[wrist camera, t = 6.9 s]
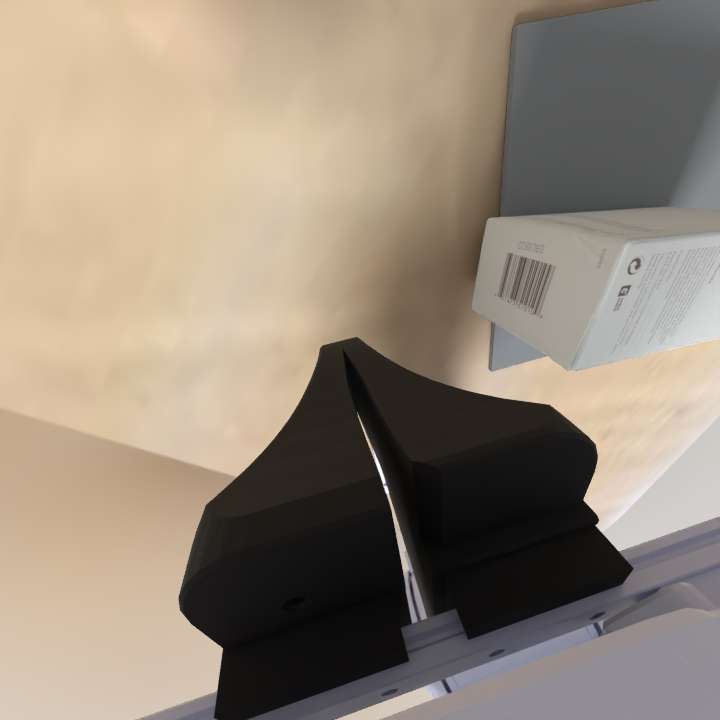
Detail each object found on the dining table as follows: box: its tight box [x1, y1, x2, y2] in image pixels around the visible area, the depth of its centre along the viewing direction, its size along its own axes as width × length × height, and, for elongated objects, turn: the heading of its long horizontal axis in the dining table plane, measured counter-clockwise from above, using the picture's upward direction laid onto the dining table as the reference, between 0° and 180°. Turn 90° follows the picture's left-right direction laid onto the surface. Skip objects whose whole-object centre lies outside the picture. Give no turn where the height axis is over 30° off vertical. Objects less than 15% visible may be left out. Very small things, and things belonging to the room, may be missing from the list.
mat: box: [489, 0, 720, 372], centre depth 20 cm, size 20×18×1 cm
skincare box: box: [471, 206, 720, 371], centre depth 17 cm, size 8×6×15 cm
